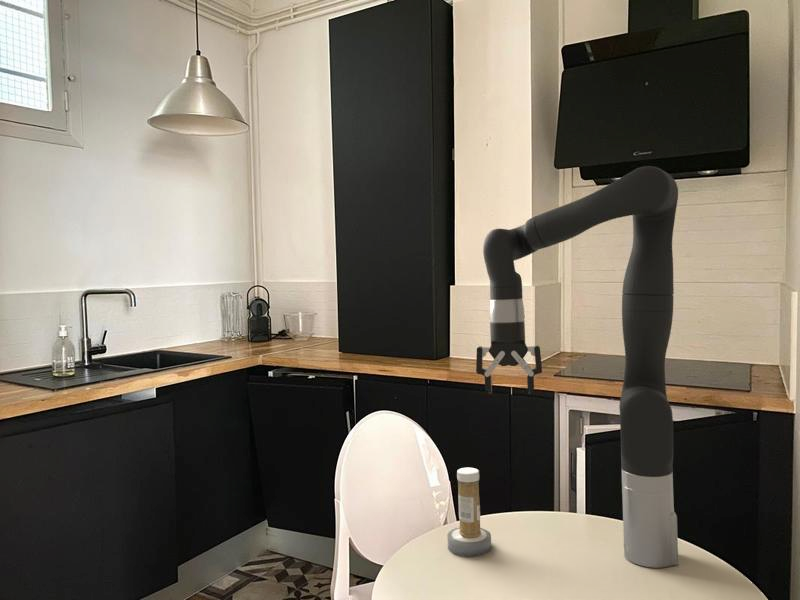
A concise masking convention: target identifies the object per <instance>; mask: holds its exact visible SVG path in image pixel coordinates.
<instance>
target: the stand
mask: <svg viewBox="0 0 800 600" xmlns="http://www.w3.org/2000/svg"><path fill="white" fill-rule="evenodd" d="M480 530H481V534H480V535H479V536H478V537H475V538H466V537H463V536H461V535H460V533H459V532H460V526H459V527H455V528H453V529H451V530H450V531H448V533H447V535H446V536H447V549H448V551H449V552H450V553H451V554H454V555H456V556H461V557H467V558H470V557H471V558H473V557H479V556H480V557H481V556H484V555H486V554H488V553H489V552H491V550H492V534H491V532H490V531H488V530H487V529H484V528H482V527H480Z"/></svg>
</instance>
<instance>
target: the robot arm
mask: <svg viewBox="0 0 800 600" xmlns="http://www.w3.org/2000/svg"><path fill="white" fill-rule="evenodd" d="M678 199H679V188H678V184H677V182H676V180H675V178H673V176H672V175H671V174H669V172H666V171H665V170H663V169H662V168H659V167H657V166H652V165H651V166H650V165H646V166H641V167H637V168H635V169H634V170H632V171H630V172H628V173H626V174H625V175H623V176H622V177H619V178H618V179H616V180H615V181H613V182H611V183H609V184H607V185H606V186H604V187H601V188H600V189H599V190H596V191H595V192H592V193H590V194H588V195H586V196H584V197H581V198H579V199H576V200H574V201H571V202H568V203H566V204H563V205H562V206H559V207H556V208H553V209H551V210H547V211H546V212H543V213H539V214H538V215H536V216H535V215H534V216H533V217H531V218H529V219H527V220H526V222H525V223H524V224H521V225H520V226H517V227H514V228H510V229H507V228H495V229H492V230H490V231H489V232H488V233H487V234H486V235H485V237H484V239H483V244H482V254H483V259H484V264H485V268H486V273H487V276H488V279H489V297H490V298H489V299H490V300H489V301H490V302H489V303H490V304H489V329H490V332H489V333H490V334H489V335H490V346H489V347H487V346H482V345H479V346H478V347H477V348H476V362H475V363H476V365H475V366H476V367H475V369H476V370H475V372H476V374H477V375H481V376H483V377H484V390H485V391H486V392H488V394H489V395H490V394H492V393H493V384H492V382H493V381H492V373H493V371H494V370H495V369H496V368H497V367H498V365H499V366H501V367H508V366H511V367H517V366H520V367H521V368H522V369H523V370H524V372H526V373H527V375H526V380H527V394H529V395H530V394H532V392H533V391H535V390H534V389H535V379H534V378H535V376H536V375H538V374H542V372H543V367H542V355H541V347H540V345H539V344H536V345H533V346H527V344H526V327H525V325H526V323H525V317H526V316H525V306H524V302H523V298H524V297H523V281H522V277H521V275H520V274H519V273H518V272H517V271H516V268H515V261H518V260H521V259H523V258H526V257H527V256H529V255H532V254H534V253H535V252H537V251H539V250H542V249H546V248H549V247H551V246H555V245H557V244H561V243H563V242H566V241H568V240H570V239H573V238H575V237H577V236H579V235H580V234H583V233H584V232H586V231H588V230H589V229H591V228H593V227H595V226H598V225H600V224H603V223H606V222H609V221H612V220H615V219H619V218H626V217H630V216H632V234H633V237H632V240H633V241H632V248H631V251H630V256H629V258H628V263H627V266H626V269H625V273H624V277H623V284H622V292H621V293H622V294H621V300H622V301H621V323H622V324H621V325H622V336H623V345H624V347H623V348H624V354H625V357H624V358H625V360H624V361H625V362H624V363H625V364H624V373H623V374H624V375H623V382H622V390H621V395H620V400H619V405H618V406H619V422H620V423H619V427H620V460H621V461H620V462H621V463H620V464H621V465H620V466H621V495H622V496H621V497H622V523H623V529H622V530H623V551H624V552H623V554H624V557H625V559H626V560H628V561H629V562H630V563H633V564H635V565H639V566H642V567H647V568H656V569H657V568H658V569H659V568H660V569H661V568H668V567H671V566H679V547H678V546H679V545H678V542H679V541H678V516H677V514H676V512H675V507H674V504H675V503H674V477H673V476H674V473H673V472H674V471H673V469H674V467H673V463H674V419H673V417H674V416H673V415H674V414H673V410H672V407H671V405H670V402H669V400H668V397H667V387H666V371H665V369H666V368H665V367H666V365H665V364H666V356H667V350H668V345H669V343H670V342H669V341H670V337H671V331H672V325H673V316H674V315H673V314H674V293H675V292H674V291H675V290H674V256H673V235H674V227H675V221H676V220H675V219H676V214H677V206H678ZM528 352H529V353H530V355H531V356H532V357H534V358H535V359H534V360H535V368H534V367H533V368H532V367H531V366H530V365H529V364H528V362H527V361H526V360H525V359H524V357H526V355H527V353H528ZM487 353H489V354H490V356H491V357H492V358H493V360H492V362H491V363H490V364H489V365H488V367H487V368H483V361H484V358H485V357H486V355H487Z"/></svg>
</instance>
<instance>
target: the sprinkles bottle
mask: <svg viewBox="0 0 800 600" xmlns="http://www.w3.org/2000/svg"><path fill="white" fill-rule="evenodd" d="M456 478H457V485H458V486H457V489H458V492H457V493H458V494H457V495H458V499H457V500H458V519H459V527H460V532H459V533H460V535H461V536H463V537H466V538H475V537H478V536H479V535H480V534H481V530H480V528H481V505H480V486H479V481H480V470H479V469H477V468H474V467H461V468H459V469H457V471H456Z"/></svg>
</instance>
